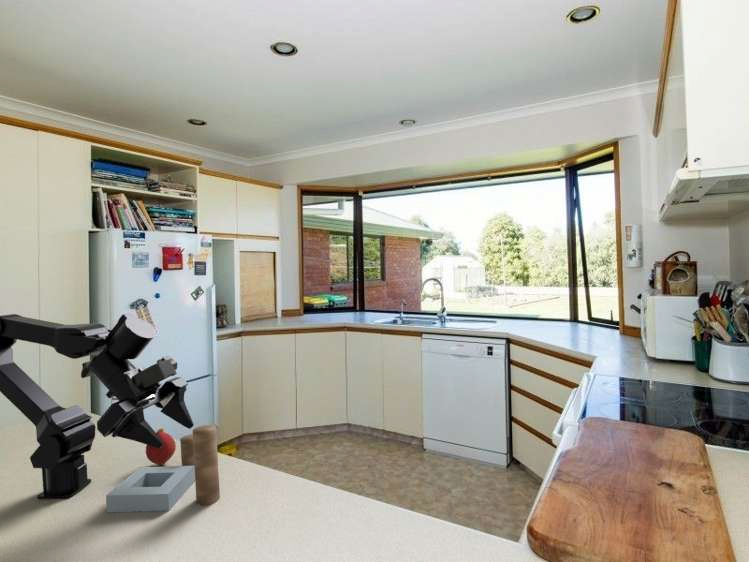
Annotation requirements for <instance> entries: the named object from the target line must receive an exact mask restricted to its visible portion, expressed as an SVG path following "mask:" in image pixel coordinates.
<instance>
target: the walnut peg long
mask: <svg viewBox="0 0 749 562" xmlns="http://www.w3.org/2000/svg"><path fill="white" fill-rule="evenodd" d="M192 434H193V448H194V466H195V482H194V483H195V484H194V485H195V500H196V501H195V502H196V504H197V505H199V504H200V505H199V506H208V505H207V504H209V505H213V504H214V502H215V503H216V502H218V501H219V500H220V499H221V496H220V495H221V494H220V492H221V491H220V476H219V475H220V474H219V473H220V472H219V457H218V439H217V438H218V436H217V426H216V425H213V424H205V425H200V426H197V427H195V428H193V429H192Z"/></svg>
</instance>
